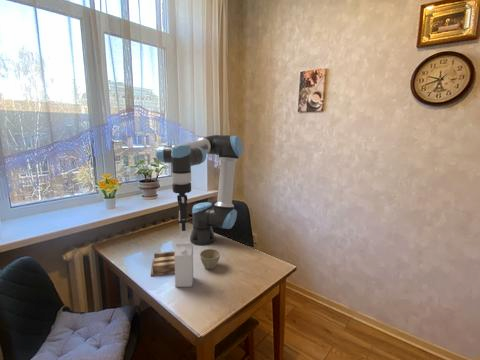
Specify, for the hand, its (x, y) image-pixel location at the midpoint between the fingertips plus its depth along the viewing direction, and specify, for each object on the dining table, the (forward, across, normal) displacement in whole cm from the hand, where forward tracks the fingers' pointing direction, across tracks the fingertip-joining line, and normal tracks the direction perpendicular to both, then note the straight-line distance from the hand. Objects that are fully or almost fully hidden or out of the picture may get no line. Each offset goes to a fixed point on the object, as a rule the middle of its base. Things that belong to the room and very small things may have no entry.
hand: (183, 230), depth 106 cm
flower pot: (+25, -10, +13) cm, 30 cm away
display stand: (+25, -15, -7) cm, 30 cm away
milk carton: (+25, 0, 0) cm, 25 cm away
